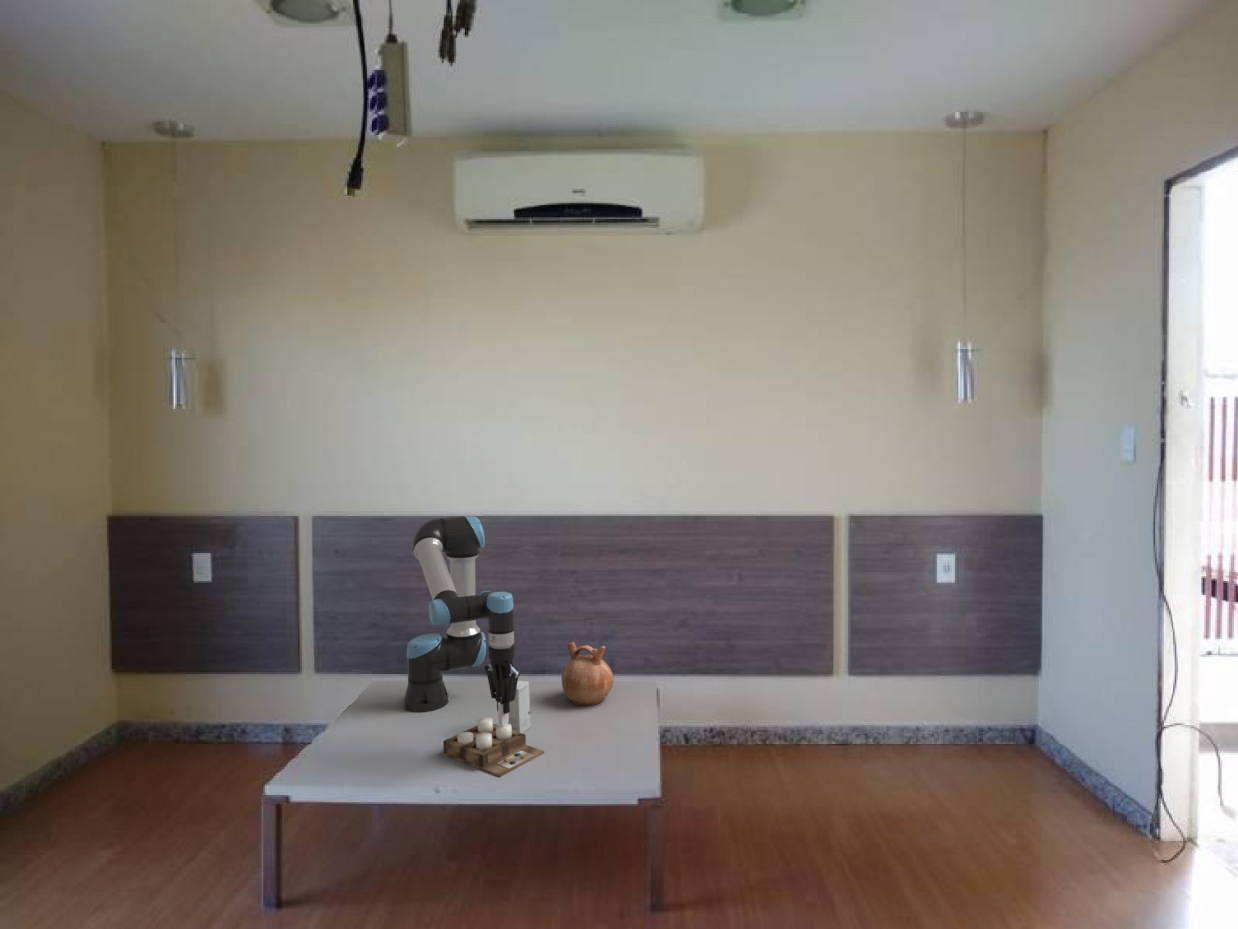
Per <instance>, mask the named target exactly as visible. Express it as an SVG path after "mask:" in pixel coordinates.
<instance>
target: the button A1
mask: <svg viewBox="0 0 1238 929" xmlns="http://www.w3.org/2000/svg"><path fill="white" fill-rule="evenodd" d="M462 732H463V733H462ZM462 732H460V733H458V735H457V734H456V735H457V741H458V742H459V743H461V744H464V745H465V744H467V743H469V742H471V741H473V733H471V732H464V731H462Z"/></svg>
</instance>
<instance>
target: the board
mask: <svg viewBox="0 0 1238 929" xmlns="http://www.w3.org/2000/svg"><path fill="white" fill-rule="evenodd" d="M497 725H498V724H495V723H493V732H491V734H492V748H490V749H488V750H486V751H484V752H483V751H480V750H478V749H476V735H477V734H479V733H478V724H477V725H475V726H473V727H471V728H469V729H467V730H465V731H462V732H461V733H463V732H471V733H473V741H471V742H469V743H467V744H465V745H464V744H461V743H459V742H458V741H457V735H458V734H459V733H458V734H455V735H453V736H451V737H448V738H447V739H445V740H443V752H442V753H441V754H442V755H443V756H444V757H448V758H450V759H453V760H455V761H458V762H460V763H463V764H466V765H468V766H470V767H473V768H476V769H479V770H481V771H484V772H486V773H489V774H492V775H494V776H495V777H496V776H497V777H498V778H501V777H502V776H505V775H507V774H508V773H510V772H512V771H514V770H516V769H517V768H519V767H521V766H523V765H524V764H527V763H528V762H530V761H532V760H534V759H536V758H538V757H540V756H541V755H543V754H545V750H542V749H540V748H536V747H534V746H531V745H528V744H527V742H526V741H527V739H526V734H524V733H523V734H522V733H519V732H516V731H513V730H512V738H510V739H508V740H506V741H504V742H503V741H500V740H498V739H496V726H497Z"/></svg>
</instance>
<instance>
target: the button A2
mask: <svg viewBox="0 0 1238 929" xmlns="http://www.w3.org/2000/svg"><path fill="white" fill-rule="evenodd" d="M493 724H494V719H493V718H492V717H489V716H487V717H485V716H484V717H480V718H478V719H477V725H478V733H491V732H493Z"/></svg>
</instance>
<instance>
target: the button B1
mask: <svg viewBox="0 0 1238 929" xmlns="http://www.w3.org/2000/svg"><path fill="white" fill-rule="evenodd" d="M490 748H492V734H491V733H479V734H477V735H476V749H478V750H480V751H483V752H484V751H486V750H488V749H490Z"/></svg>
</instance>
